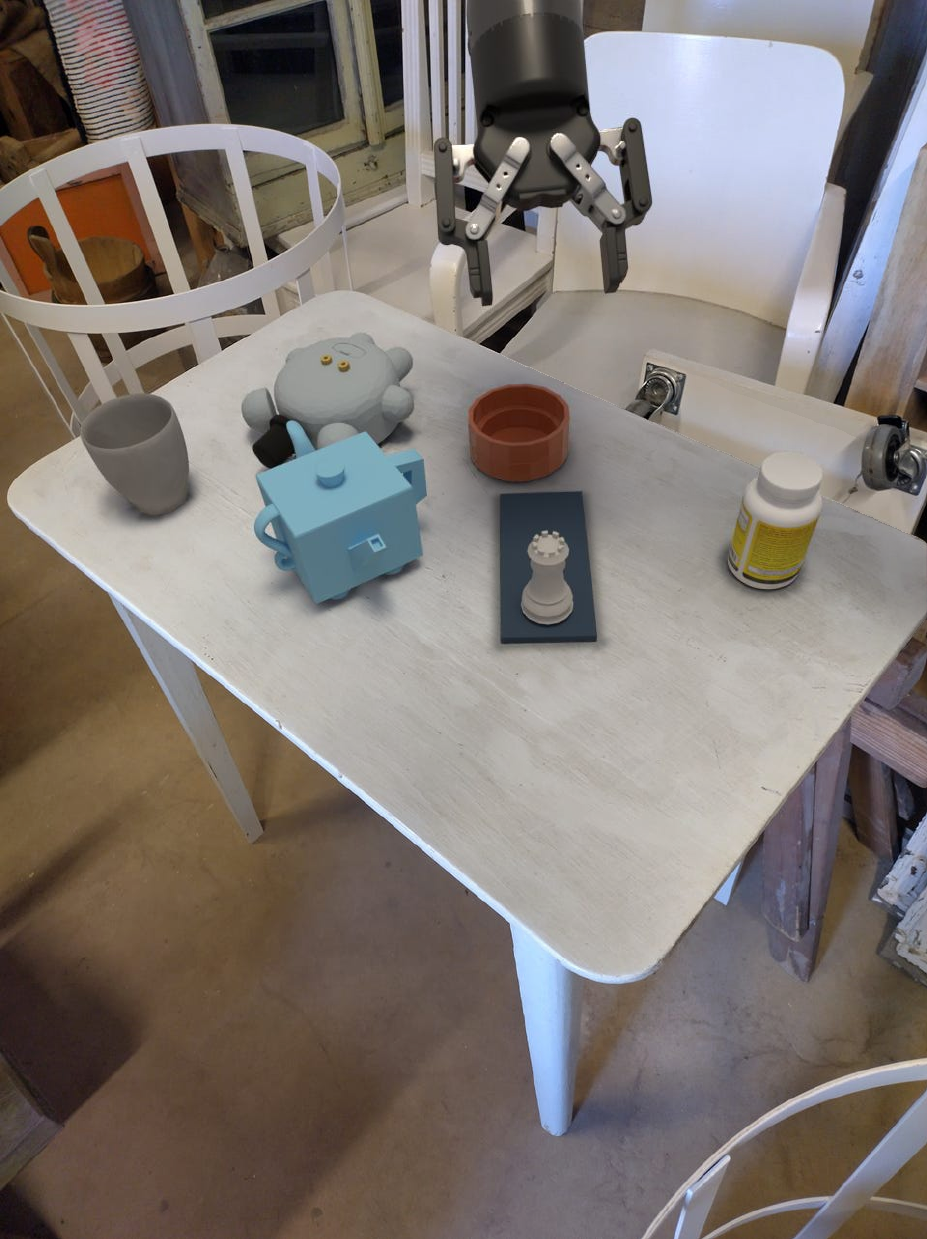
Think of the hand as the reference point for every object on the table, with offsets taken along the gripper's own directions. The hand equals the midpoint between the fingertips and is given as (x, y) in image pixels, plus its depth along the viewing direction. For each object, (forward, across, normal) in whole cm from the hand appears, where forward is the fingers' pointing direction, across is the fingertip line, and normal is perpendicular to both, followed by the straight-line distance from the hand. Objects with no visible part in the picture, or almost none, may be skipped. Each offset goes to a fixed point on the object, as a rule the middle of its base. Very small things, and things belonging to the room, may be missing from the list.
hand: (550, 296), depth 55 cm
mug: (+7, -39, +29) cm, 49 cm away
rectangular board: (+19, 0, +18) cm, 26 cm away
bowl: (+7, -1, +29) cm, 30 cm away
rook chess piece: (+22, -1, +13) cm, 26 cm away
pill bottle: (+21, +19, +16) cm, 32 cm away
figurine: (+2, -20, +34) cm, 39 cm away
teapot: (+16, -18, +20) cm, 32 cm away
